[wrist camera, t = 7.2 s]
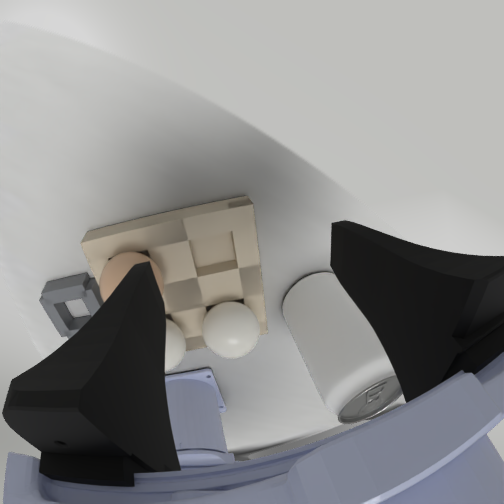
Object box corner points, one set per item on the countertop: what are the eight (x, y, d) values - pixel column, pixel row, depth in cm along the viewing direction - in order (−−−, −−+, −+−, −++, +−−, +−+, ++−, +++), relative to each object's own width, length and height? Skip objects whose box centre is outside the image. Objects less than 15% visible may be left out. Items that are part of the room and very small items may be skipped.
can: (284, 332, 28) (330, 436, 18) (276, 281, 25) (335, 399, 14) (343, 312, 29) (403, 402, 19) (344, 260, 25) (424, 356, 15)
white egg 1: (190, 338, 24) (194, 378, 20) (143, 346, 24) (141, 386, 20) (176, 300, 22) (178, 341, 18) (124, 310, 21) (118, 351, 18)
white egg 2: (255, 324, 25) (268, 362, 21) (205, 335, 24) (212, 375, 21) (249, 284, 23) (263, 322, 19) (193, 296, 22) (198, 337, 18)
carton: (262, 319, 26) (267, 333, 25) (138, 345, 25) (137, 359, 23) (247, 195, 20) (253, 204, 19) (87, 231, 19) (80, 243, 17)
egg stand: (117, 321, 23) (115, 334, 22) (68, 329, 22) (64, 341, 21) (93, 271, 20) (88, 282, 19) (42, 283, 20) (35, 294, 18)
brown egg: (156, 234, 19) (151, 269, 15) (171, 286, 21) (171, 327, 17) (98, 247, 18) (82, 283, 14) (117, 296, 20) (108, 337, 17)
